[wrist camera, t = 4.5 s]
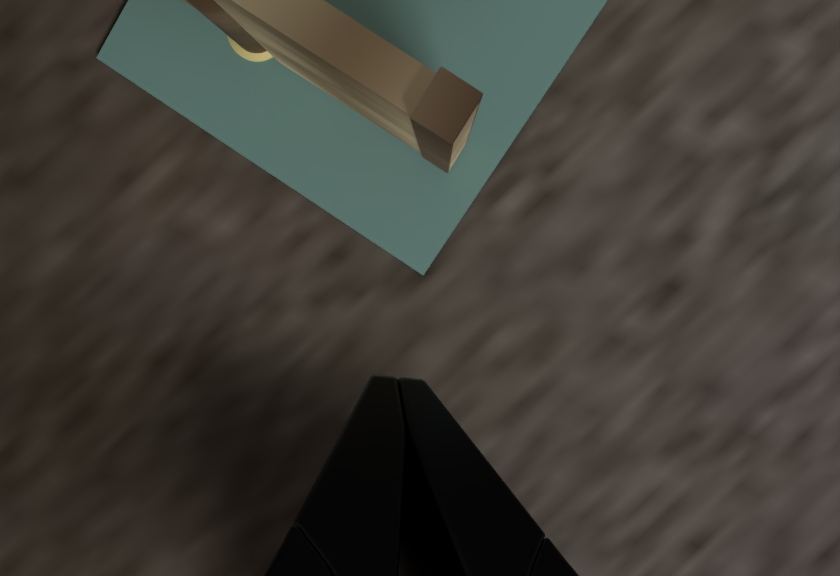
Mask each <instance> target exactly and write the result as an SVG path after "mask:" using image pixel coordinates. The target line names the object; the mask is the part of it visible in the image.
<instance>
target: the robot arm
mask: <svg viewBox="0 0 840 576" xmlns="http://www.w3.org/2000/svg"><path fill="white" fill-rule="evenodd" d="M544 537H545V534H544V532H543V531H542V530H541V528H540V527H539V526H538V524H537V523H536V522H535V521H534V519H533V518H532V517H531V516H530V514H529V513H528V512H527V511H526V509H525V508H524V507H523V505H522V504H521V503H520V502H519V500H518V499H517V498H516V497H515V495H514V494H513V493H512V491H511V490H510V489H509V488H508V486H507V485H506V484H505V483H504V481H503V480H502V479H501V477H500V476H499V475H498V474H497V472H496V471H495V470H494V469H493V467H492V466H491V465H490V463H489V462H488V461H487V460H486V458H485V457H484V456H483V455H482V453H481V452H480V451H479V449H478V448H477V447H476V446H475V444H474V443H473V442H472V441H471V439H470V438H469V437H468V436H467V434H466V433H465V432H464V430H463V429H462V428H461V427H460V425H459V424H458V423H457V422H456V420H455V419H454V418H453V416H452V415H451V414H450V413H449V411H448V410H447V409H446V408H445V406H444V405H443V404H442V402H441V401H440V400H439V399H438V397H437V396H436V395H435V394H434V392H433V391H432V390H431V388H430V387H429V386H428V385H427V383H426V382H425V381H423V380H422V379H415V378H404V377H401V378H399V379H398V380H397V379H396V378H395V377H393V376H383V375H373V376H371V377H370V379H369V381H368V383H367V385H366V386H365V388H364V390H363V392H362V394H361V396H360V398H359V400H358V402H357V403H356V405H355V407H354V409H353V411H352V413H351V415H350V417H349V419H348V421H347V422H346V424H345V426H344V428H343V430H342V432H341V434H340V436H339V438H338V440H337V441H336V443H335V445H334V447H333V449H332V451H331V453H330V455H329V457H328V458H327V460H326V462H325V464H324V466H323V468H322V470H321V472H320V474H319V476H318V477H317V479H316V481H315V483H314V485H313V487H312V489H311V491H310V493H309V495H308V496H307V498H306V500H305V502H304V504H303V506H302V508H301V510H300V512H299V513H298V515H297V517H296V519H295V521H294V523H293V526H292V527H291V528H290V530H289V532H288V534H287V535H286V537H285V539H284V541H283V543H282V545H281V547H280V549H279V550H278V552H277V554H276V556H275V557H274V559H273V561H272V563H271V564H270V566H269V568H268V570H267V571H266V573H265V575H264V576H579V575H578V574H577V573H576V572H575V571H574V569H573V568H572V567H571V566H570V565H569V563H568V562H567V561H566V560H565V558H564V557H563V556H562V555H561V553H560V552H559V551H558V550H557V548H556V547H555V546H554V545H553V543H552V542H551V541H550V539H548V538H545V539H544Z"/></svg>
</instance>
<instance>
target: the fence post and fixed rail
mask: <svg viewBox="0 0 840 576" xmlns="http://www.w3.org/2000/svg"><path fill="white" fill-rule="evenodd" d="M182 1H184V2H185V3H187V4H189V5H190V6H192V7H193V8H195V9H196V10H198V11H199V12H201V13H202V14H203V15H204V16H205V17H206V18H208V19H209V20H210V21H211V22H212V23H213V24H215V25H216V26H217V27H218V28H219V29H221V30H222V31H223V32H224V33H225V34H226V35H228V36H229V37H230V38H231V39H232V40H234V41H235V42H236V43H237V44H238V45H239V46H241V47H242V48H243V49H244V50H246V51H248V52H251V53H263V52H266V51H267V50H266V49H265V48H264V47H263V46H261V45H260V44H259V43H258V42H257V41H256V40H255V39H254V38H253V37H252V36H251V35H250V34H249V33H248V32H247V31H246V30H245V29H244V28H243V27H241V26H240V25H239V24H238V23H237V22H236V21H235V20H234V19H233V18H232V17H231V16H230V15H229V14H228V13H227V12H226V11H225V10H224V9H223V8H221V7H220V6H219V5H218V4H217V3H216V2H215V1H214V0H182Z"/></svg>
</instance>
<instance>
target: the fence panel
mask: <svg viewBox="0 0 840 576" xmlns="http://www.w3.org/2000/svg"><path fill="white" fill-rule="evenodd" d="M214 1H215V2H216V3H217V4H218V5H219V6H220V7H221V8H223V9H224V10H225V11H226V12H227V13H228V14H229V15H230V16H231V17H232V18H233V19H234V20H235V21H236V22H237V23H238V24H239V25H240V26H241V27H243V28H244V29H245V30H246V31H247V32H248V33H249V34H250V35H251V36H252V37H253V38H254V39H255V40H256V41H257V42H258V43H259V44H260V45H261V46H263V47H264V48H265V49H266V50H267V51H268V52H269V53H270V54H271V55H272V56H273V57H274V58H275V59H276V60H277V61H278V62H279V63H281V64H282V65H284V66H285V67H287V68H288V69H290V70H291V71H293V72H295V73H296V74H298V75H299V76H301V77H302V78H304V79H305V80H307V81H309V82H310V83H312V84H313V85H315V86H316V87H318V88H320V89H321V90H323V91H324V92H326V93H327V94H329V95H330V96H332V97H334V98H335V99H337V100H338V101H340V102H341V103H343V104H344V105H346V106H348V107H349V108H351V109H352V110H354V111H355V112H357V113H358V114H360V115H362V116H363V117H365V118H366V119H368V120H369V121H371V122H373V123H374V124H376V125H377V126H379V127H380V128H382V129H383V130H385V131H387V132H388V133H390V134H391V135H393V136H394V137H396V138H397V139H399V140H401V141H402V142H404V143H405V144H407V145H408V146H410V147H411V148H413V149H415V150H416V151H418V152H419V153H421V155H422V158H424V159H426V160H427V161H429V162H430V163H432V164H433V165H435V166H436V167H438V168H440V169H441V170H443V171H444V172H446V173H447V174H448V172H449V170H450V169H451V167H452V166H453V164H454V162H455V161H456V159H457V158H458V156H459V154H460V153H461V151H462V150H463V148H464V146H465V145H466V143H467V140H468V137H469V134H470V131H471V128H472V125H473V122H474V119H475V117H476V114H477V111H478V108H479V105H480V102H481V99H482V96H483V93H482V92H481V91H479V90H477V89H476V88H474V87H473V86H471V85H470V84H468V83H467V82H465V81H464V80H462V79H460V78H459V77H457V76H456V75H454V74H453V73H451V72H450V71H448V70H447V69H445V68H444V67H442V66H440V68H439V70H438V71H437V73H435V72H434V71H432V70H431V69H429V68H428V67H426V66H425V65H423V64H422V63H420V62H418V61H417V60H415V59H414V58H412V57H411V56H409V55H408V54H406V53H405V52H403V51H401V50H400V49H398V48H397V47H395V46H394V45H392V44H391V43H389V42H388V41H386V40H384V39H383V38H381V37H380V36H378V35H377V34H375V33H374V32H372V31H371V30H369V29H367V28H366V27H364V26H363V25H361V24H360V23H358V22H357V21H355V20H354V19H352V18H351V17H349V16H347V15H346V14H344V13H343V12H341V11H340V10H338V9H337V8H335V7H334V6H332V5H330V4H329V3H327V2H326V1H324V0H214Z"/></svg>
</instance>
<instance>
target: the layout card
mask: <svg viewBox="0 0 840 576" xmlns="http://www.w3.org/2000/svg"><path fill="white" fill-rule="evenodd" d="M324 1H326V2H327V3H329V4H330V5H332V6H334V7H335V8H337V9H338V10H340V11H341V12H343V13H344V14H346V15H347V16H349V17H351V18H352V19H354V20H355V21H357V22H358V23H360V24H361V25H363V26H364V27H366V28H367V29H369V30H371V31H372V32H374V33H375V34H377V35H378V36H380V37H381V38H383V39H384V40H386V41H388V42H389V43H391V44H392V45H394V46H395V47H397V48H398V49H400V50H401V51H403V52H405V53H406V54H408V55H409V56H411V57H412V58H414V59H415V60H417V61H418V62H420V63H422V64H423V65H425V66H426V67H428V68H429V69H431V70H432V71H434V72H435V73H437V71H438V70H439V68H440V66H442V67H444V68H445V69H447V70H448V71H450V72H451V73H453V74H454V75H456V76H457V77H459V78H460V79H462V80H464V81H465V82H467V83H468V84H470V85H471V86H473V87H474V88H476V89H477V90H479V91H481V92H482V93H483V96H482V99H481V102H480V105H479V108H478V111H477V114H476V117H475V119H474V122H473V125H472V128H471V131H470V134H469V137H468V140H467V143H466V145H465V146H464V148H463V150H462V151H461V153H460V154H459V156H458V158H457V159H456V161H455V162H454V164H453V166H452V167H451V169H450V170H449V172H448V174H447V173H446V172H444V171H443V170H441V169H440V168H438V167H436V166H435V165H433V164H432V163H430V162H429V161H427V160H426V159H424V158H422V155H421V153H419V152H418V151H416V150H415V149H413V148H411V147H410V146H408V145H407V144H405V143H404V142H402V141H401V140H399V139H397V138H396V137H394V136H393V135H391V134H390V133H388V132H387V131H385V130H383V129H382V128H380V127H379V126H377V125H376V124H374V123H373V122H371V121H369V120H368V119H366V118H365V117H363V116H362V115H360V114H358V113H357V112H355V111H354V110H352V109H351V108H349V107H348V106H346V105H344V104H343V103H341V102H340V101H338V100H337V99H335V98H334V97H332V96H330V95H329V94H327V93H326V92H324V91H323V90H321V89H320V88H318V87H316V86H315V85H313V84H312V83H310V82H309V81H307V80H305V79H304V78H302V77H301V76H299V75H298V74H296V73H295V72H293V71H291V70H290V69H288V68H287V67H285V66H284V65H282V64H281V63H279V62H278V61H277V60H276V59H275V58H274V57H273V56H272V55H271V54H270V53H269V52H268V51H266V52H263V53H251V52H248V51H246V50H244V49H243V48H242V47H241V46H239V45H238V44H237V43H236V42H235V41H234V40H232V39H231V38H230V37H229V36H228V35H226V34H225V33H224V32H223V31H222V30H221V29H219V28H218V27H217V26H216V25H215V24H213V23H212V22H211V21H210V20H209V19H208V18H206V17H205V16H204V15H203V14H202V13H201V12H199V11H198V10H196V9H195V8H193V7H192V6H190V5H189V4H187V3H185V2H184V1H182V0H128V2H127V3H126V5H125V7H124V9H123V11H122V12H121V14H120V16H119V18H118V20H117V21H116V23H115V25H114V27H113V29H112V30H111V32H110V34H109V36H108V38H107V39H106V41H105V43H104V45H103V47H102V48H101V50H100V52H99V54H98V56H97V57H96V58H97V59H99V60H100V61H102V62H103V63H105V64H106V65H108V66H109V67H111V68H112V69H114V70H115V71H117V72H118V73H120V74H121V75H123V76H124V77H126V78H127V79H129V80H130V81H132V82H133V83H135V84H136V85H138V86H139V87H141V88H142V89H144V90H145V91H147V92H148V93H150V94H151V95H153V96H154V97H156V98H157V99H159V100H160V101H162V102H163V103H165V104H166V105H168V106H169V107H171V108H172V109H174V110H175V111H177V112H178V113H180V114H181V115H183V116H184V117H186V118H187V119H189V120H190V121H192V122H193V123H195V124H196V125H198V126H199V127H201V128H202V129H204V130H205V131H207V132H208V133H210V134H211V135H213V136H214V137H216V138H217V139H219V140H220V141H222V142H223V143H225V144H226V145H228V146H229V147H231V148H232V149H234V150H235V151H237V152H238V153H240V154H241V155H243V156H244V157H246V158H247V159H249V160H250V161H252V162H253V163H255V164H256V165H258V166H259V167H261V168H262V169H264V170H265V171H267V172H268V173H270V174H271V175H273V176H274V177H276V178H277V179H279V180H280V181H282V182H283V183H285V184H286V185H288V186H289V187H291V188H292V189H294V190H296V191H297V192H299V193H300V194H302V195H303V196H305V197H306V198H308V199H309V200H311V201H312V202H314V203H315V204H317V205H318V206H320V207H321V208H323V209H324V210H326V211H327V212H329V213H330V214H332V215H333V216H335V217H336V218H338V219H339V220H341V221H342V222H344V223H345V224H347V225H348V226H350V227H351V228H353V229H354V230H356V231H357V232H359V233H360V234H362V235H363V236H365V237H366V238H368V239H369V240H371V241H372V242H374V243H375V244H377V245H378V246H380V247H381V248H383V249H384V250H386V251H387V252H389V253H390V254H392V255H393V256H395V257H396V258H398V259H399V260H401V261H402V262H404V263H405V264H407V265H408V266H410V267H411V268H413V269H414V270H416V271H417V272H419V273H420V274H422V275H424V274H425V272H426V271H427V269H428V268H429V266H430V265H431V263H432V262H433V260H434V259H435V257H436V256H437V254H438V253H439V251H440V250H441V248H442V247H443V245H444V244H445V242H446V241H447V239H448V238H449V236H450V235H451V233H452V232H453V230H454V229H455V227H456V226H457V224H458V223H459V221H460V220H461V218H462V217H463V215H464V214H465V212H466V211H467V209H468V208H469V206H470V205H471V203H472V202H473V200H474V199H475V197H476V196H477V194H478V193H479V192H480V190H481V189H482V187H483V186H484V184H485V183H486V181H487V180H488V178H489V177H490V175H491V174H492V172H493V171H494V169H495V168H496V166H497V165H498V163H499V162H500V160H501V159H502V157H503V156H504V154H505V153H506V151H507V150H508V148H509V147H510V145H511V144H512V142H513V141H514V139H515V138H516V136H517V135H518V133H519V132H520V130H521V129H522V127H523V126H524V124H525V123H526V121H527V120H528V118H529V117H530V115H531V114H532V112H533V111H534V109H535V108H536V106H537V105H538V103H539V102H540V100H541V99H542V97H543V96H544V94H545V93H546V91H547V90H548V88H549V87H550V85H551V84H552V82H553V81H554V79H555V78H556V76H557V75H558V73H559V72H560V70H561V69H562V67H563V66H564V65H565V63H566V62H567V60H568V59H569V57H570V56H571V54H572V53H573V51H574V50H575V48H576V47H577V45H578V44H579V42H580V41H581V39H582V38H583V36H584V35H585V33H586V32H587V30H588V29H589V27H590V26H591V24H592V23H593V21H594V20H595V18H596V17H597V15H598V14H599V12H600V11H601V9H602V8H603V6H604V5H605V3H606V2H607V0H324Z"/></svg>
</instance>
